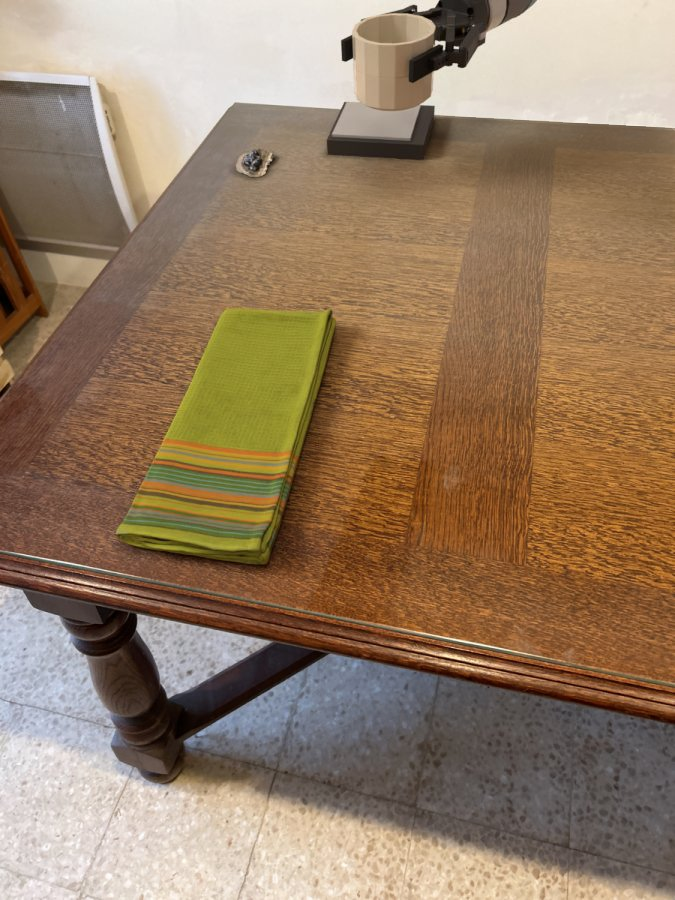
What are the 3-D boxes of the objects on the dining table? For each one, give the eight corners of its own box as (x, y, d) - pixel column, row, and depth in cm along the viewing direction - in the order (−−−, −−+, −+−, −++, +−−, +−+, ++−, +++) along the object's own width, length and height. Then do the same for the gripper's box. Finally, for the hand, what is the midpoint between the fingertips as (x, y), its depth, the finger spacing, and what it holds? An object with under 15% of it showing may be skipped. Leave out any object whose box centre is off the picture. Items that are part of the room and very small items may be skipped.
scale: (434, 120, 124) (435, 102, 122) (423, 159, 115) (423, 141, 113) (344, 115, 127) (344, 98, 124) (327, 154, 118) (326, 136, 116)
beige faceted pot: (436, 81, 106) (439, 14, 99) (426, 115, 99) (429, 45, 92) (363, 78, 108) (361, 12, 101) (348, 111, 101) (345, 43, 94)
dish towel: (117, 549, 69) (107, 530, 67) (223, 316, 92) (218, 296, 89) (268, 571, 67) (264, 552, 64) (339, 326, 89) (337, 306, 87)
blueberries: (274, 151, 120) (272, 140, 118) (278, 174, 115) (277, 163, 113) (234, 156, 119) (232, 145, 118) (237, 180, 114) (235, 169, 113)
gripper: (533, 56, 104) (444, 111, 94) (406, 23, 115) (315, 69, 105) (542, -1, 99) (448, 51, 89) (407, -31, 110) (311, 13, 100)
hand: (376, 61), depth 97 cm, fingers closed on beige faceted pot, 11 cm apart
